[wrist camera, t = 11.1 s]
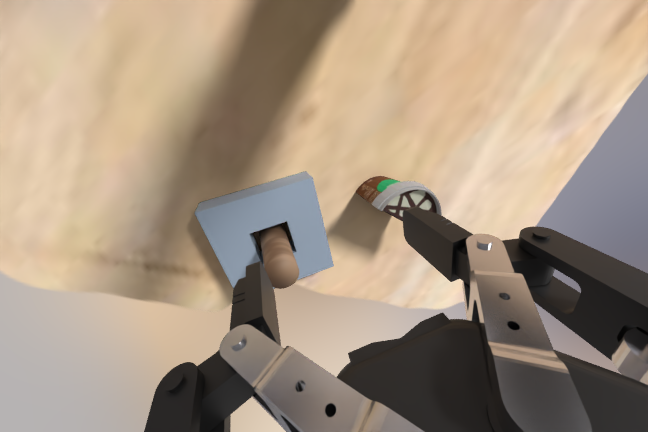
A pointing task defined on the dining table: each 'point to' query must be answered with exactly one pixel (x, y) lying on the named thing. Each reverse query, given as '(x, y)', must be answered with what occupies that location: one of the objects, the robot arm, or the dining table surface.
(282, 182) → the socket block
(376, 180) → the food container
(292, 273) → the walnut peg
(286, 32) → the dining table surface
